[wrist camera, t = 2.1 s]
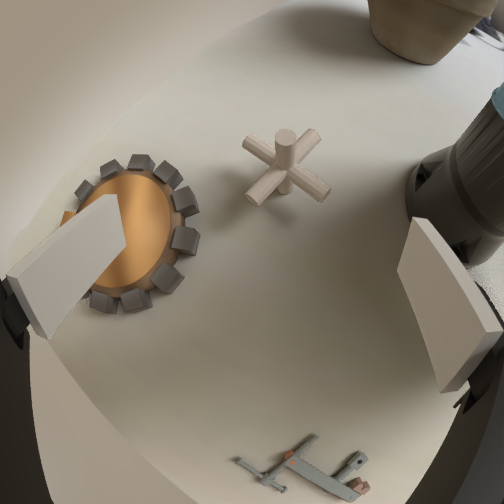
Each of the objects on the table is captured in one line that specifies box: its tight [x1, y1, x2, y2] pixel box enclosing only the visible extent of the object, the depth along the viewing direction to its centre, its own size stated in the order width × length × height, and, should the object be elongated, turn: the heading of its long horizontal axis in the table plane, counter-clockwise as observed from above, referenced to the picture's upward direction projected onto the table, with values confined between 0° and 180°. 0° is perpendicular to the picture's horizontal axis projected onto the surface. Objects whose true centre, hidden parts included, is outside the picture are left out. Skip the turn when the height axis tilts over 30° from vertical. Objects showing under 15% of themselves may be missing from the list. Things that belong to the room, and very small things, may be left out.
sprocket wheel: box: [60, 154, 200, 313], centre depth 32 cm, size 20×20×2 cm
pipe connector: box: [242, 129, 331, 207], centre depth 28 cm, size 10×10×10 cm
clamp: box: [235, 434, 370, 503], centre depth 24 cm, size 15×2×10 cm
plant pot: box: [368, 0, 498, 64], centre depth 27 cm, size 25×25×22 cm
